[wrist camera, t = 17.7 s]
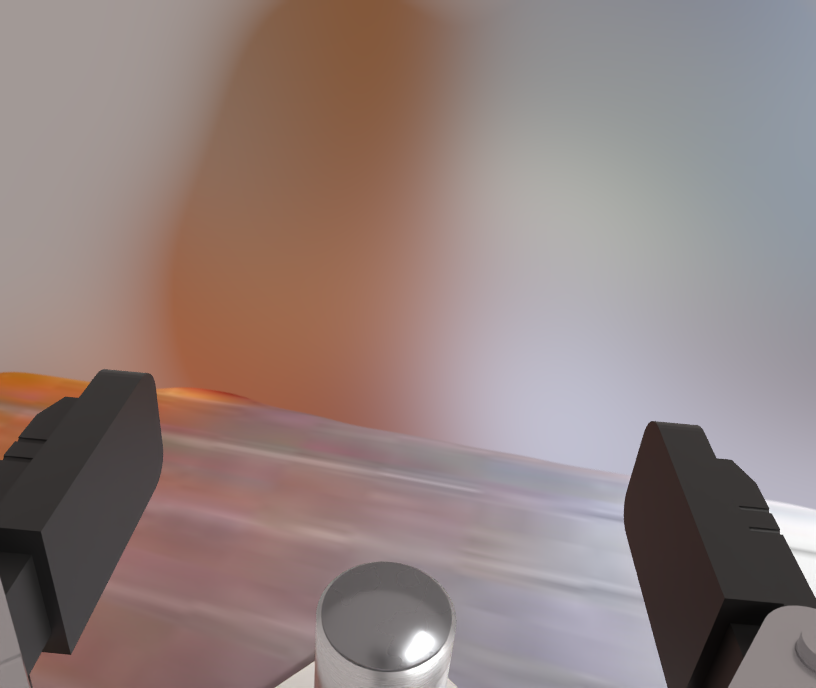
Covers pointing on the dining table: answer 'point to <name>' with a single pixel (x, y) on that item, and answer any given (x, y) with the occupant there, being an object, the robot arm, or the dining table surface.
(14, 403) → the dining table surface
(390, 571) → the can
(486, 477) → the dining table surface
